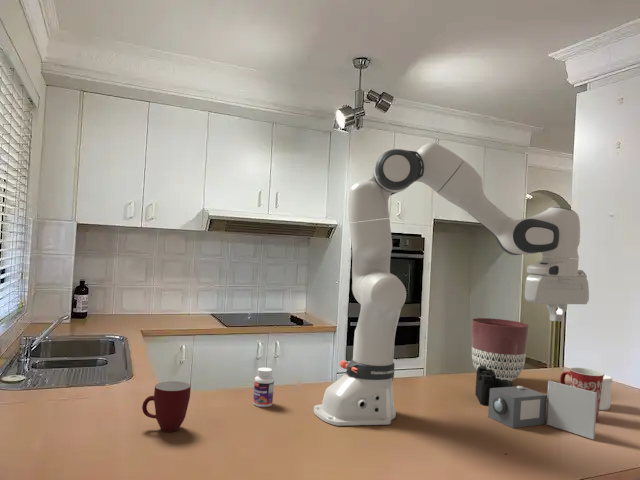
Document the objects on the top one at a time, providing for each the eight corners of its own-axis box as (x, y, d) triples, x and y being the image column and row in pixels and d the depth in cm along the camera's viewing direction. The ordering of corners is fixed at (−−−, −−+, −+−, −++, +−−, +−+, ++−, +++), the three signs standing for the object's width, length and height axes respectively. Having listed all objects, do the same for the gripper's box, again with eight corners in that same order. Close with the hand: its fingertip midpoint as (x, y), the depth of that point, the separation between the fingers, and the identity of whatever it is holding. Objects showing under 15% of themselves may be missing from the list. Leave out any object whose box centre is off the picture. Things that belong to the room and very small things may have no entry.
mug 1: (138, 436, 114) (141, 391, 114) (142, 423, 121) (145, 381, 121) (187, 434, 116) (190, 390, 116) (187, 422, 124) (190, 381, 124)
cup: (603, 412, 154) (605, 380, 154) (569, 403, 162) (571, 372, 162) (615, 407, 161) (617, 376, 161) (582, 399, 168) (583, 369, 168)
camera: (515, 409, 152) (517, 376, 152) (477, 405, 154) (479, 372, 154) (507, 396, 165) (508, 365, 166) (473, 392, 168) (474, 362, 168)
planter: (471, 385, 176) (475, 323, 176) (465, 372, 195) (468, 316, 195) (531, 392, 173) (535, 328, 173) (518, 378, 192) (522, 321, 192)
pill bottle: (249, 405, 140) (251, 369, 140) (258, 400, 145) (261, 365, 145) (266, 408, 138) (269, 372, 138) (275, 403, 143) (278, 368, 143)
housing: (509, 428, 134) (511, 395, 135) (485, 417, 143) (487, 386, 143) (545, 424, 140) (547, 392, 140) (519, 413, 148) (521, 383, 148)
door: (595, 438, 130) (598, 392, 131) (593, 439, 129) (595, 393, 130) (547, 422, 141) (549, 380, 141) (544, 423, 140) (546, 380, 140)
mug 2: (608, 421, 146) (611, 374, 146) (586, 424, 142) (589, 375, 142) (571, 407, 157) (573, 363, 158) (549, 409, 154) (552, 365, 154)
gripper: (576, 269, 143) (573, 318, 143) (522, 266, 134) (518, 319, 134) (596, 271, 137) (593, 322, 137) (541, 268, 128) (538, 323, 128)
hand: (556, 320), depth 135 cm, fingers closed
